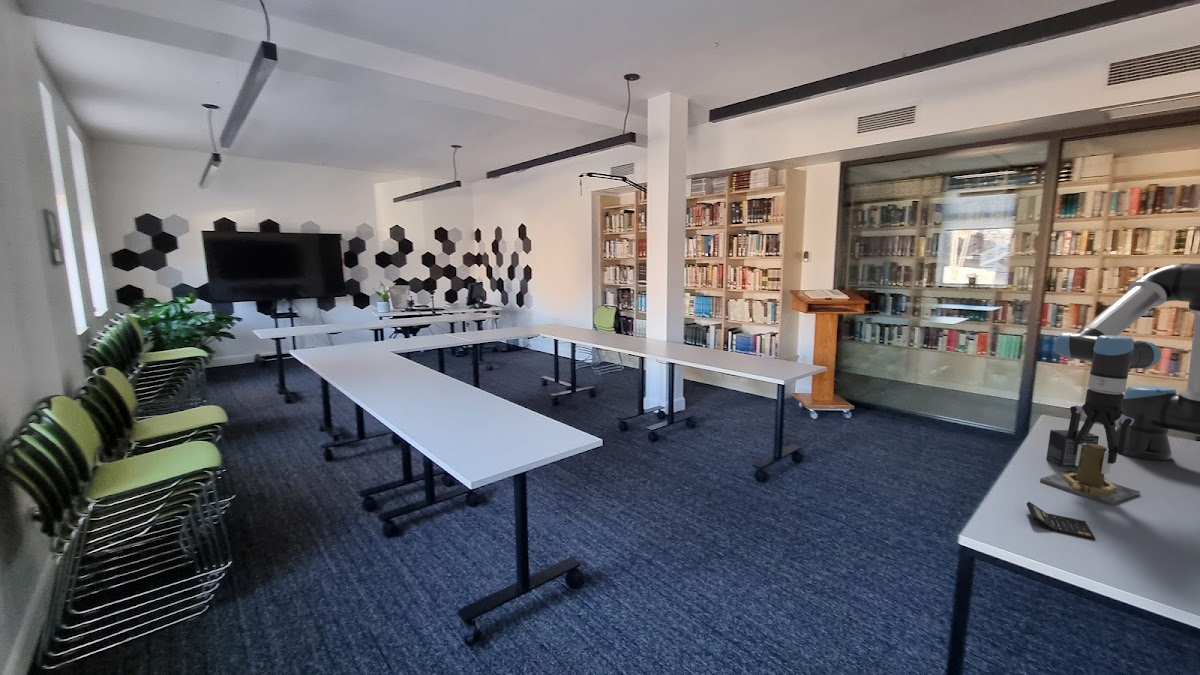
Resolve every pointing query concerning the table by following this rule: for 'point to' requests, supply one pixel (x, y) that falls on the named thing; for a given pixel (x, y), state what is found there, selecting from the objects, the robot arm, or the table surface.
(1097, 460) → the cork
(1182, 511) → the table surface
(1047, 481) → the socket
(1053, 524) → the calculator
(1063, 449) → the small box
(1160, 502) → the table surface
